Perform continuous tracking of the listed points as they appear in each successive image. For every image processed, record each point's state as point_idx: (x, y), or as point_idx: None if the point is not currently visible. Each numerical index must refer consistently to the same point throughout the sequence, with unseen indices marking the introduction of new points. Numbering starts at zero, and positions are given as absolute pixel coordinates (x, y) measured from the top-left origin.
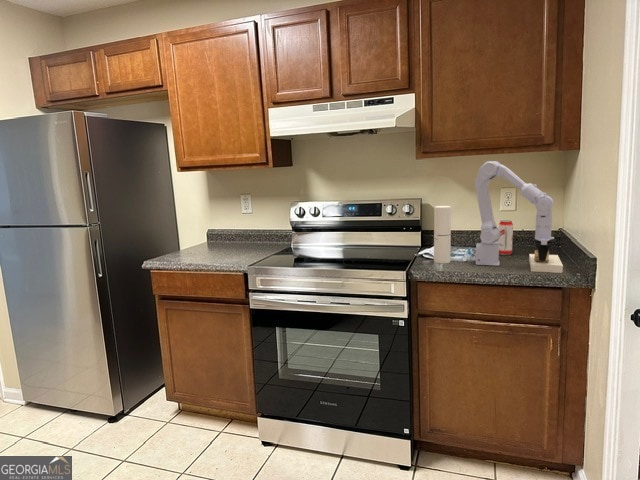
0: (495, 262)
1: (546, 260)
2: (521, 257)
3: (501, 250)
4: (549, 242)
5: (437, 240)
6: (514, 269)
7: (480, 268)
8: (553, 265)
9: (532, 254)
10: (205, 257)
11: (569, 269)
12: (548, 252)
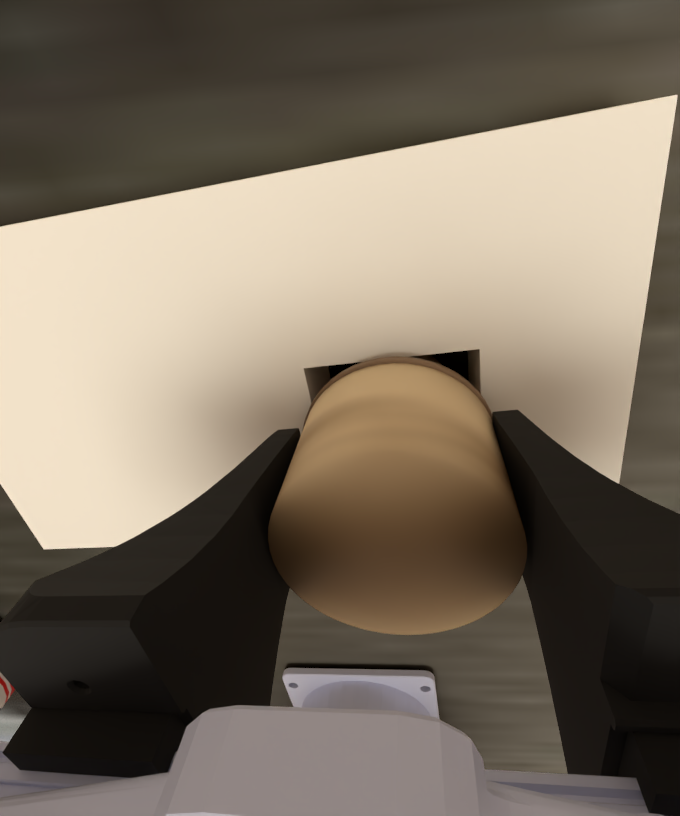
0: (408, 706)
1: (472, 392)
2: (8, 548)
3: (9, 692)
4: (155, 588)
5: None
6: (525, 584)
7: (549, 743)
8: (647, 267)
9: (49, 525)
10: None
11: (313, 12)
12: (444, 446)
